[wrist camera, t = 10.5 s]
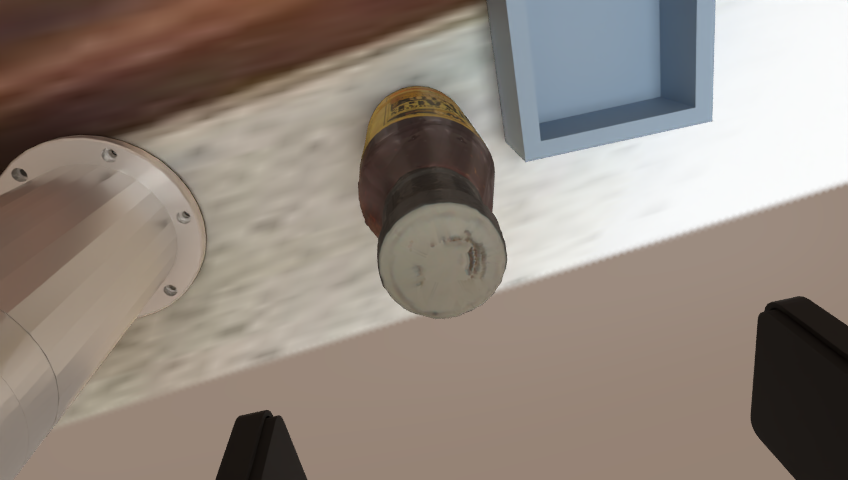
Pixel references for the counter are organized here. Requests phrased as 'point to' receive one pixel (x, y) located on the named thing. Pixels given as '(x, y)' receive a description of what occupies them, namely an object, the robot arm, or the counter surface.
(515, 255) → the counter surface
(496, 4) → the caddy
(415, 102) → the sauce bottle
